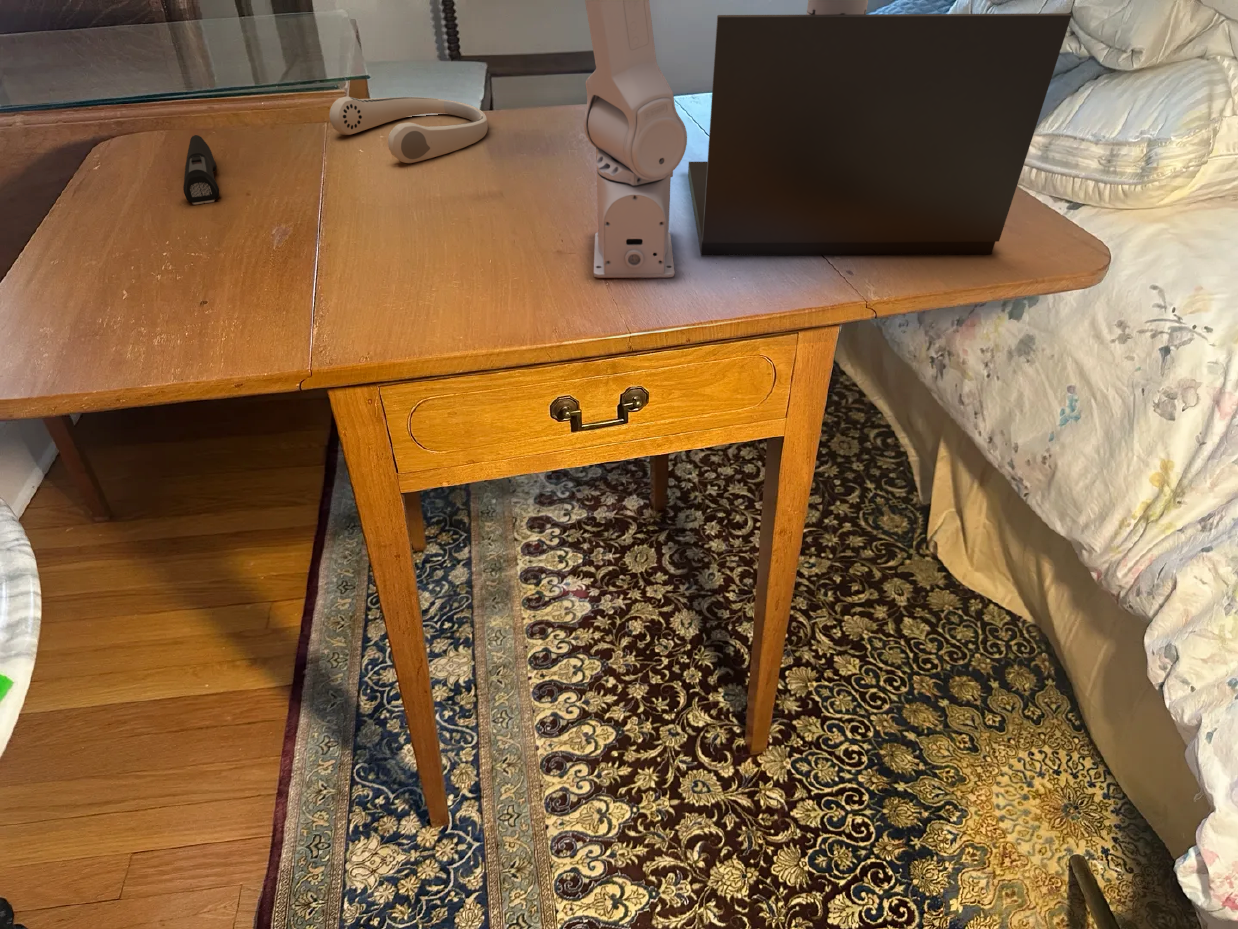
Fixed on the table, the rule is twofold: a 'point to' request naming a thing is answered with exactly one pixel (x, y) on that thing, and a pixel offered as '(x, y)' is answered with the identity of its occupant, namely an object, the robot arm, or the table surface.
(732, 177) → the laptop screen
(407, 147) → the beige neck fan
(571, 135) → the table surface
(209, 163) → the electric trimmer
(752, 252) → the laptop
